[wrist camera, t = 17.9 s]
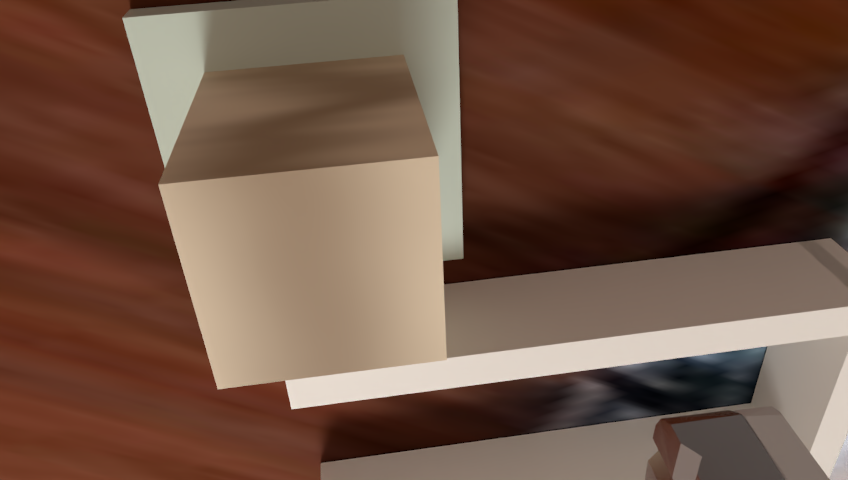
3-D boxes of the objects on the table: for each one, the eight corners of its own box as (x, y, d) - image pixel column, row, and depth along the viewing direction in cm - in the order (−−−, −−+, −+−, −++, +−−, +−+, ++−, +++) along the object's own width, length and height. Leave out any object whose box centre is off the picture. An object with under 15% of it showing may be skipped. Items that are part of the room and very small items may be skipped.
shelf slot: (830, 237, 24) (903, 299, 21) (772, 419, 29) (824, 490, 26) (289, 302, 22) (285, 378, 19) (324, 483, 27) (325, 565, 24)
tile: (451, -18, 18) (457, -11, 17) (459, 244, 22) (463, 258, 21) (130, 9, 17) (122, 17, 16) (203, 274, 21) (199, 289, 21)
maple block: (403, 54, 18) (438, 156, 13) (414, 222, 20) (446, 359, 15) (204, 72, 17) (158, 184, 12) (242, 240, 20) (217, 389, 15)
